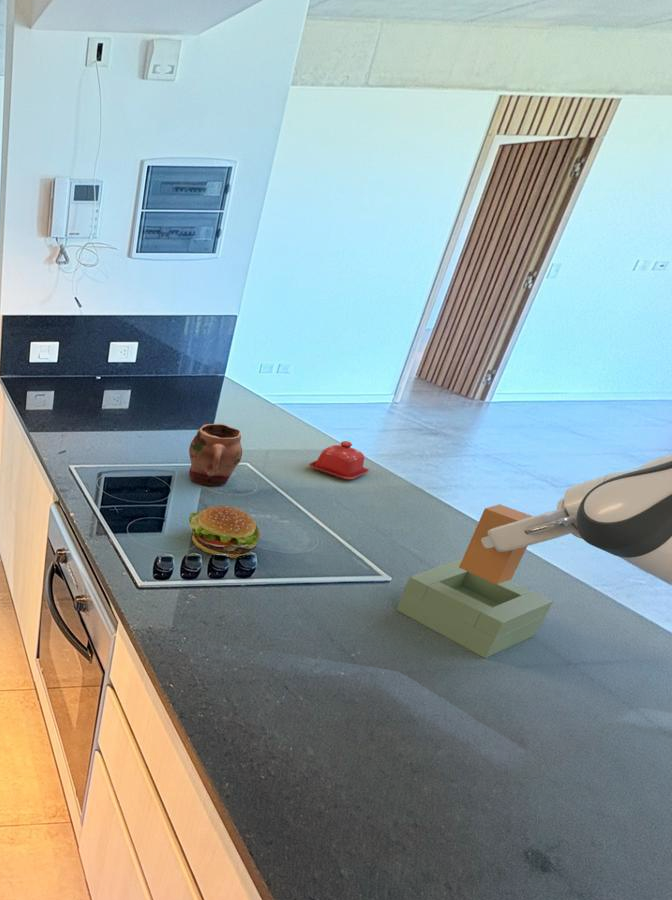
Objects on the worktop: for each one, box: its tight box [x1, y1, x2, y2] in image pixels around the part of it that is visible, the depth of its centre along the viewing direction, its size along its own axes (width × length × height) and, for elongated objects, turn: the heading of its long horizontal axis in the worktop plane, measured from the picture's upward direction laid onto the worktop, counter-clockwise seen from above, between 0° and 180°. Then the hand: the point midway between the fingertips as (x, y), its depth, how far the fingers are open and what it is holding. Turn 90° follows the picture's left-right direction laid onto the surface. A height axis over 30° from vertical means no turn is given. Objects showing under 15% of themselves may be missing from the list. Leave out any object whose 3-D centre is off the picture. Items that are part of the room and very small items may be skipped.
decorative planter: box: [188, 423, 243, 487], centre depth 154 cm, size 20×12×14 cm, turn 165°
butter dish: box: [308, 440, 371, 480], centre depth 161 cm, size 12×12×8 cm
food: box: [188, 505, 261, 559], centre depth 126 cm, size 14×14×8 cm
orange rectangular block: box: [459, 503, 534, 584], centre depth 98 cm, size 4×6×11 cm
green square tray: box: [396, 558, 554, 659], centre depth 103 cm, size 14×14×7 cm
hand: (495, 539), depth 98 cm, fingers closed on orange rectangular block, 4 cm apart
